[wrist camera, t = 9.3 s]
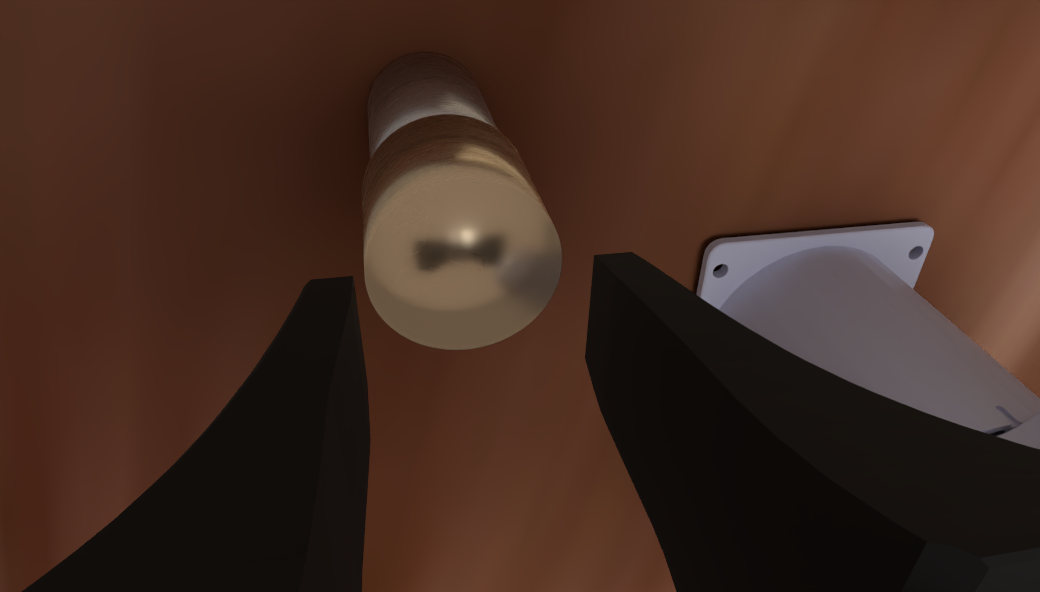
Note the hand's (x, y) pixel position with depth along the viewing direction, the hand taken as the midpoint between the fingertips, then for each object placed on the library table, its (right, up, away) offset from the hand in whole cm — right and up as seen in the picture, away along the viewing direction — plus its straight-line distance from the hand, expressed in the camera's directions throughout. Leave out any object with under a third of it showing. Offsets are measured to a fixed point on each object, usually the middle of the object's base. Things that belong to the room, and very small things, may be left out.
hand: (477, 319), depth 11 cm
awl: (-2, +5, +8) cm, 9 cm away
